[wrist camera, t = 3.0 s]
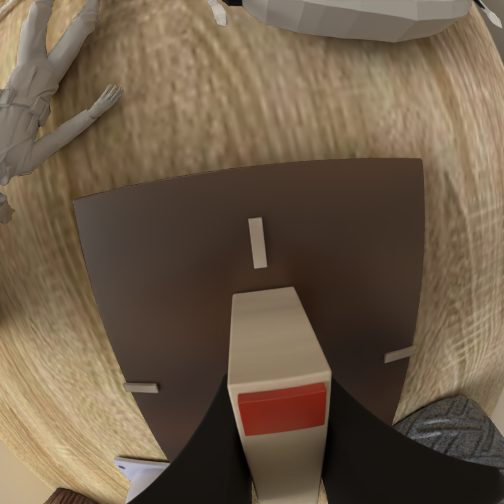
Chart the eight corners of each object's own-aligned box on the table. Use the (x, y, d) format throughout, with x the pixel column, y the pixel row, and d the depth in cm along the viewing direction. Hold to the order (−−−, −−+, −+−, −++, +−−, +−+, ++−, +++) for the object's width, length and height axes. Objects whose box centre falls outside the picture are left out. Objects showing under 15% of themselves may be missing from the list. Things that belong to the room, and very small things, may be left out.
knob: (300, 433, 10) (317, 515, 6) (257, 439, 10) (264, 522, 6) (293, 285, 8) (336, 380, 4) (232, 293, 8) (225, 395, 4)
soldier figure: (174, -7, 9) (93, 237, 8) (126, 39, 12) (64, 238, 11) (50, -58, 3) (-110, 203, 2) (22, 2, 6) (-74, 215, 5)
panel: (368, 413, 14) (386, 450, 11) (182, 436, 14) (175, 477, 11) (383, 160, 10) (427, 158, 7) (108, 193, 10) (66, 201, 7)
